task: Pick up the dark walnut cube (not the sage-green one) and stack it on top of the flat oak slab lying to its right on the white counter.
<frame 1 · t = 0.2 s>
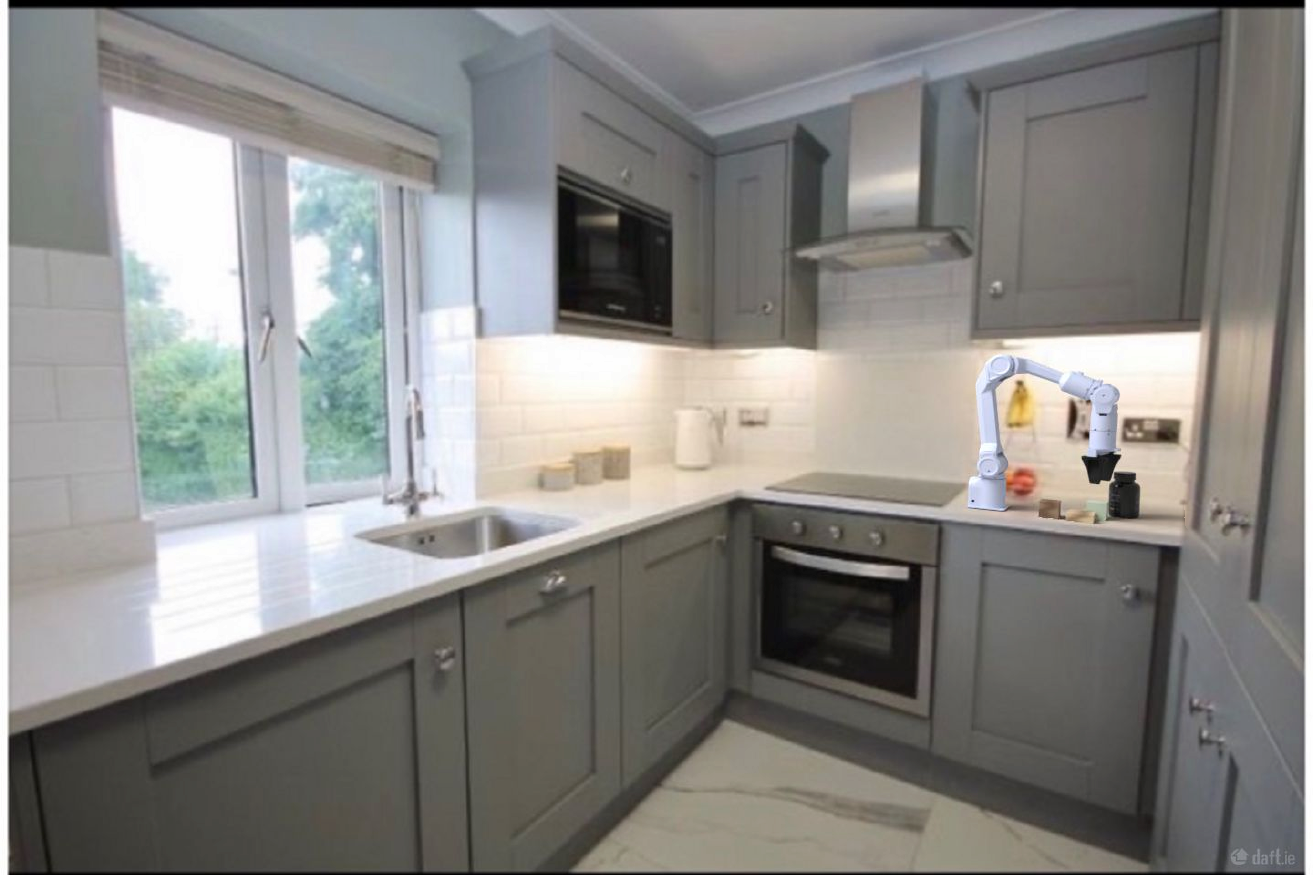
hand: (1100, 482, 165), 10 cm above the worktop, tool pointing down, fingers open, 7 cm apart
oak slab: (1080, 521, 165), on the worktop
walnut cube: (1049, 517, 170), on the worktop
sage cube: (1096, 518, 167), on the worktop
supplement bottle: (1123, 517, 169), on the worktop
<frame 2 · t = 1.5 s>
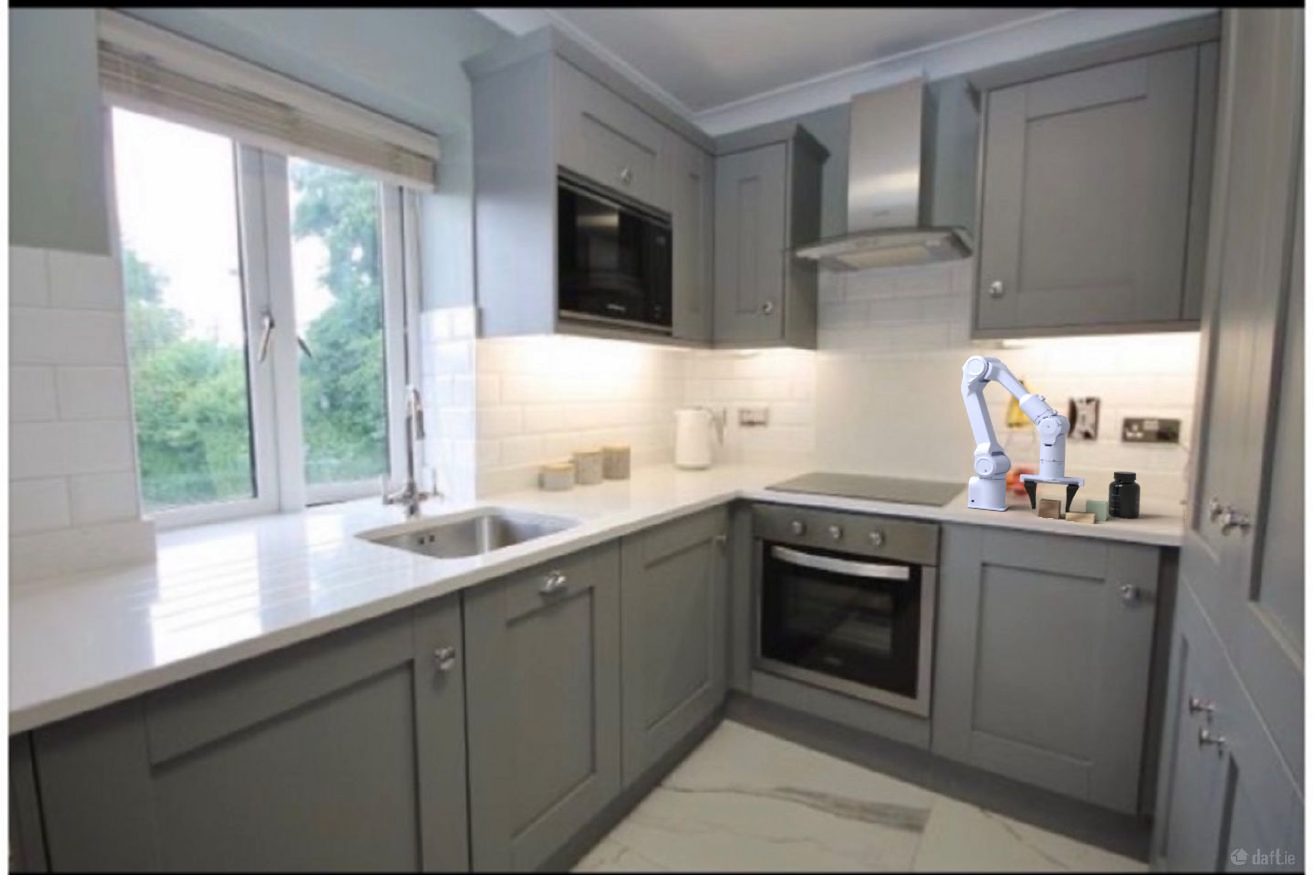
hand: (1050, 510, 169), 2 cm above the worktop, tool pointing down, fingers open, 7 cm apart
oak slab: (1080, 522, 165), on the worktop, touching gripper
everything else where it was.
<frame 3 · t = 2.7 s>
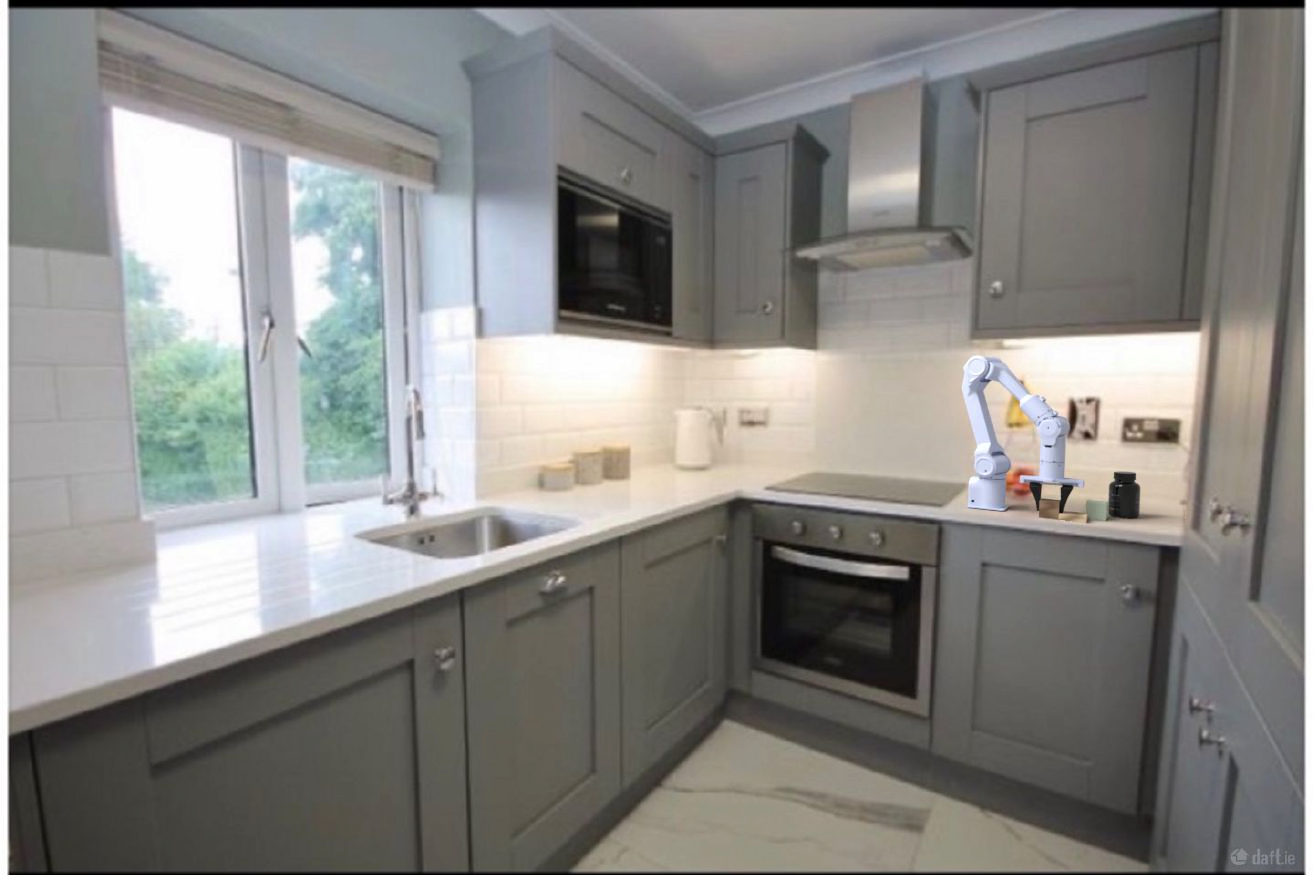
hand: (1050, 511, 169), 1 cm above the worktop, tool pointing down, fingers closed on walnut cube, 4 cm apart
oak slab: (1073, 523, 166), on the worktop, touching gripper
walnut cube: (1049, 516, 169), on the worktop, touching gripper
everything else where it was.
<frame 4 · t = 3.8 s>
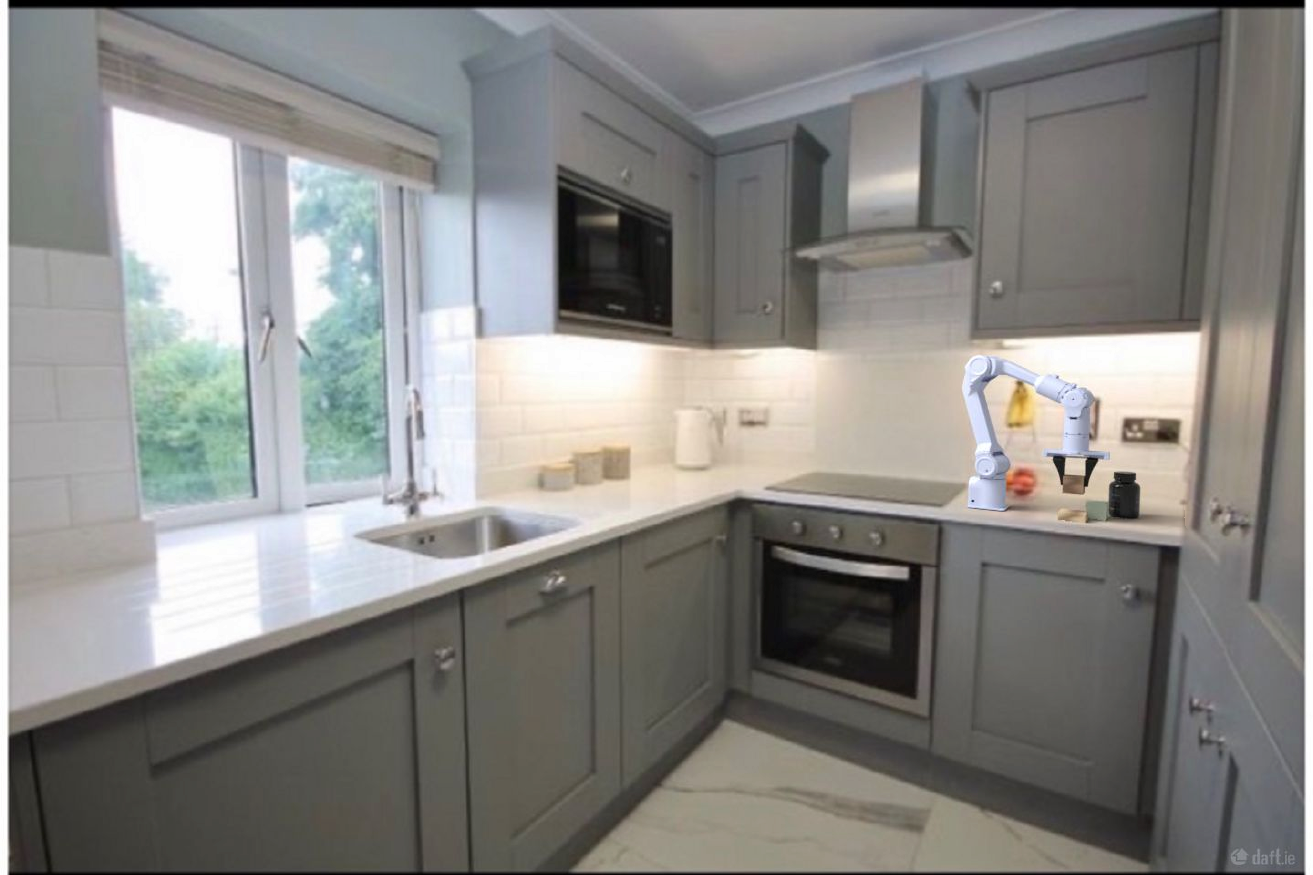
hand: (1074, 485, 165), 9 cm above the worktop, tool pointing down, fingers closed on walnut cube, 4 cm apart
oak slab: (1072, 520, 166), on the worktop
walnut cube: (1073, 492, 165), point 7 cm above the worktop, touching gripper
everything else where it was.
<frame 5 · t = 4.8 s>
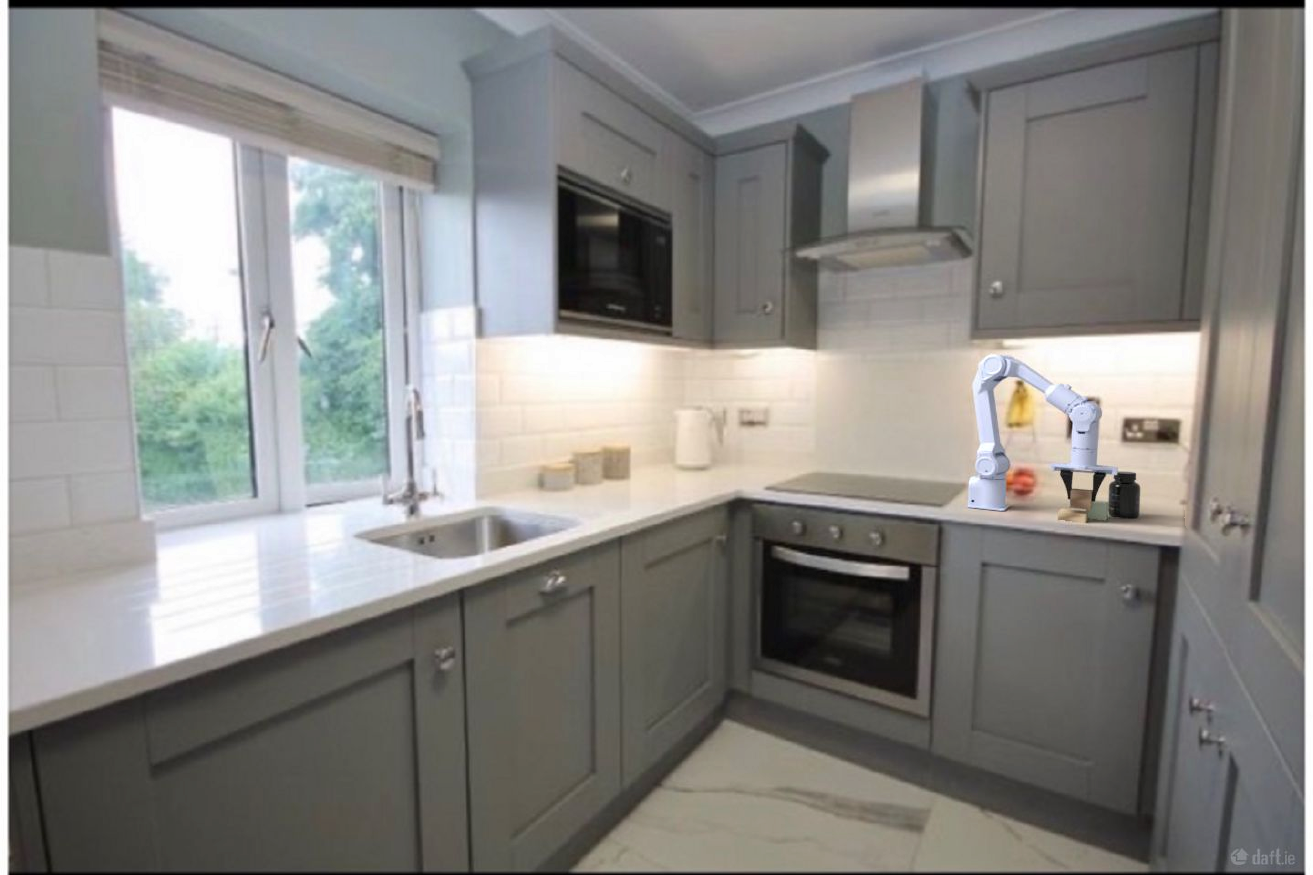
hand: (1081, 499, 165), 5 cm above the worktop, tool pointing down, fingers closed on walnut cube, 4 cm apart
walnut cube: (1081, 507, 165), point 3 cm above the worktop, touching gripper
everything else where it was.
when the fingers open (5 cm above the worktop, at t = 5.4 s): walnut cube drops 1 cm, point 2 cm above the worktop.
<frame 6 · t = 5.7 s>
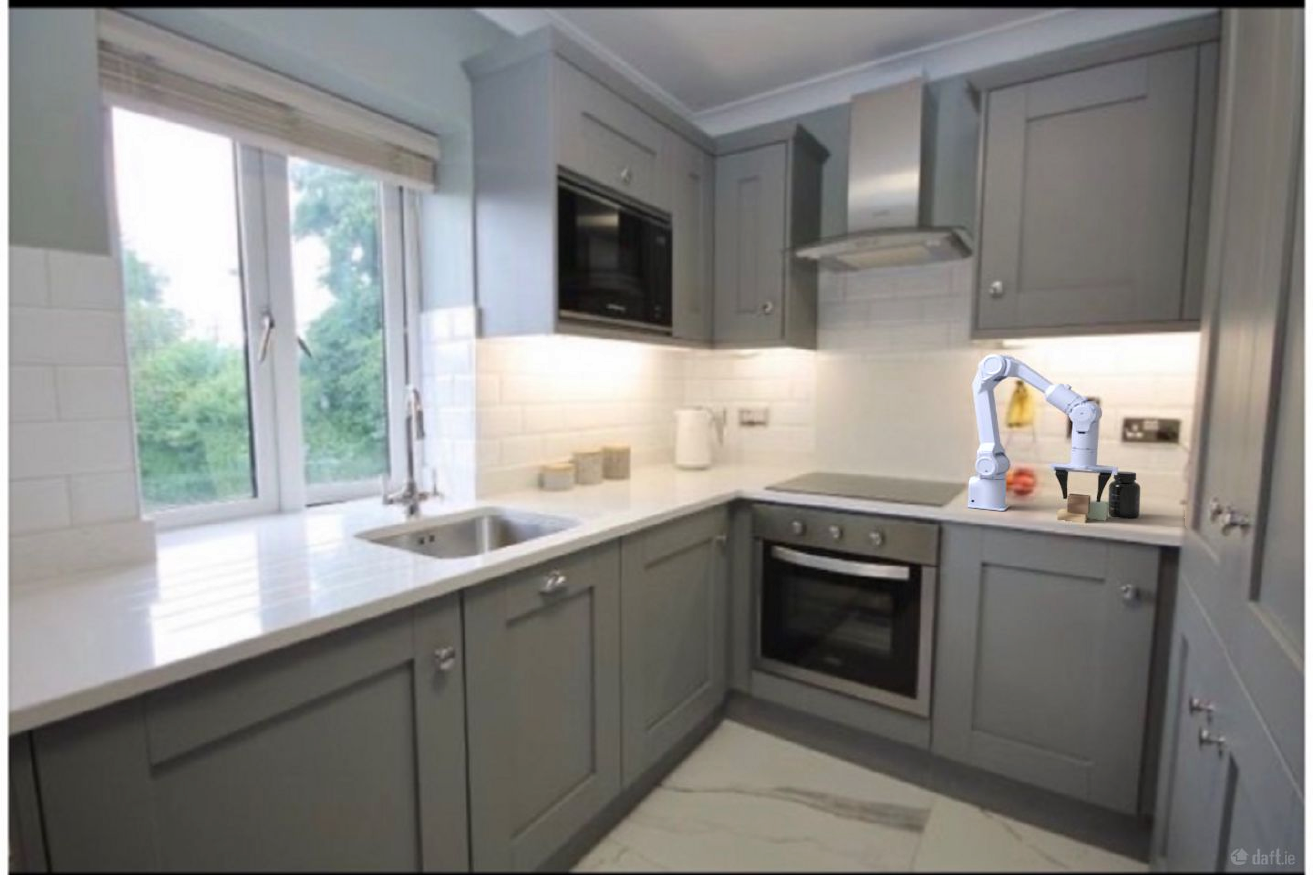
hand: (1081, 499, 165), 5 cm above the worktop, tool pointing down, fingers open, 7 cm apart
walnut cube: (1078, 512, 165), point 2 cm above the worktop
everything else where it was.
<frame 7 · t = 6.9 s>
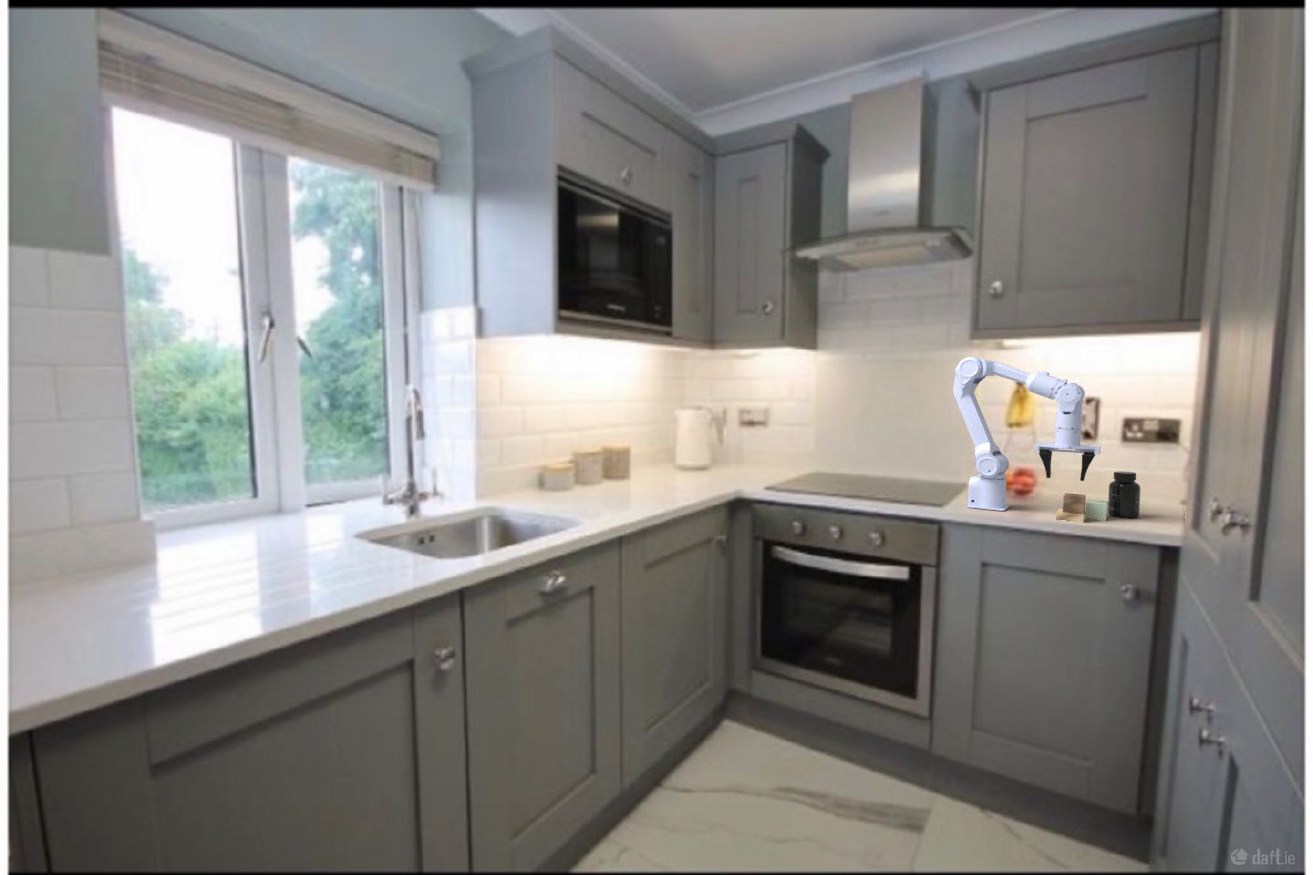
hand: (1065, 479, 169), 10 cm above the worktop, tool pointing down, fingers open, 7 cm apart
oak slab: (1070, 521, 166), on the worktop, touching walnut cube
walnut cube: (1073, 511, 166), point 2 cm above the worktop, touching oak slab
everything else where it was.
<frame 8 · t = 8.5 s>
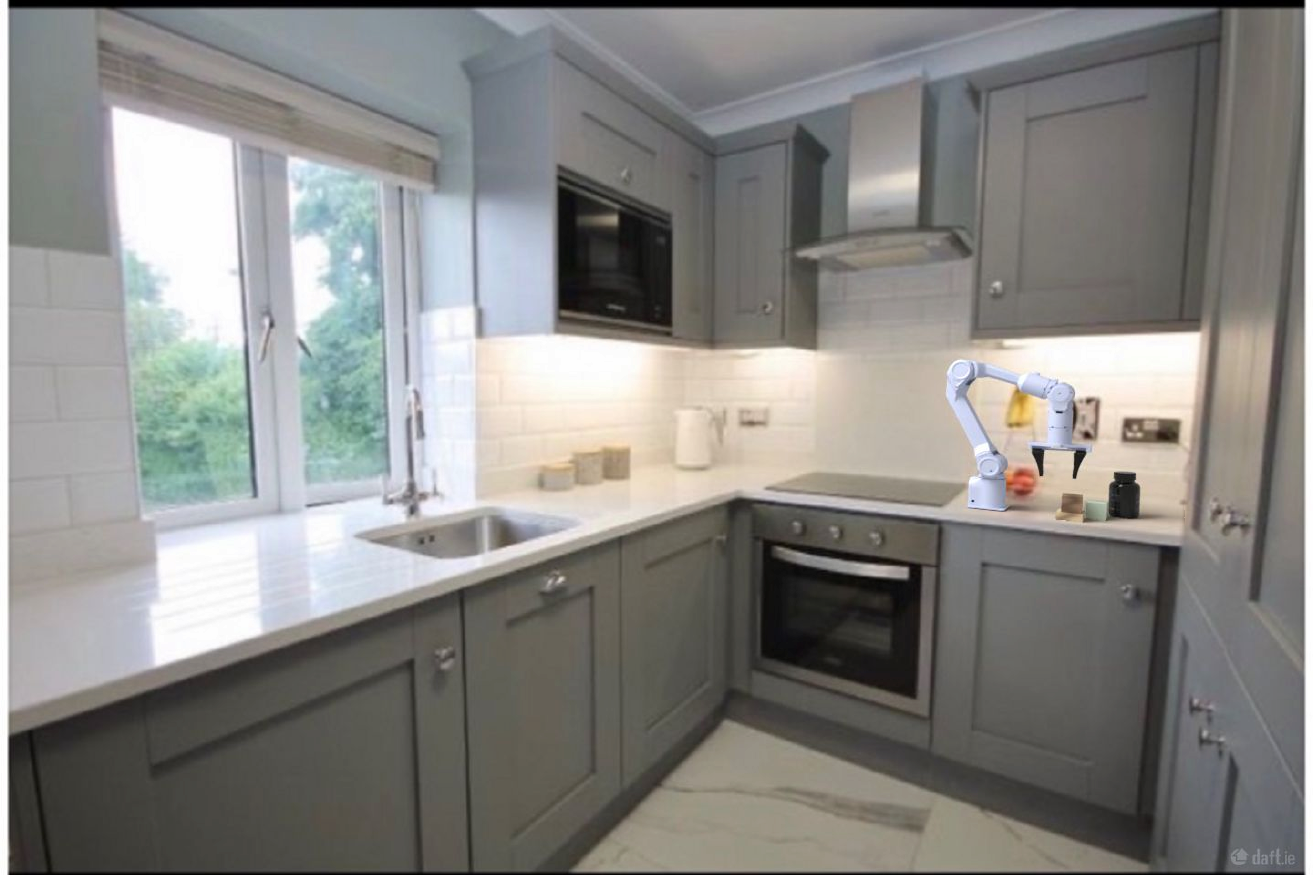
hand: (1057, 477, 171), 10 cm above the worktop, tool pointing down, fingers open, 7 cm apart
nothing on the worktop moved.
at the end: walnut cube 0.4 cm off-centre on the oak slab, point 2.5 cm above the oak slab's base; walnut cube tilted 0°; the gripper is holding nothing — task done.
